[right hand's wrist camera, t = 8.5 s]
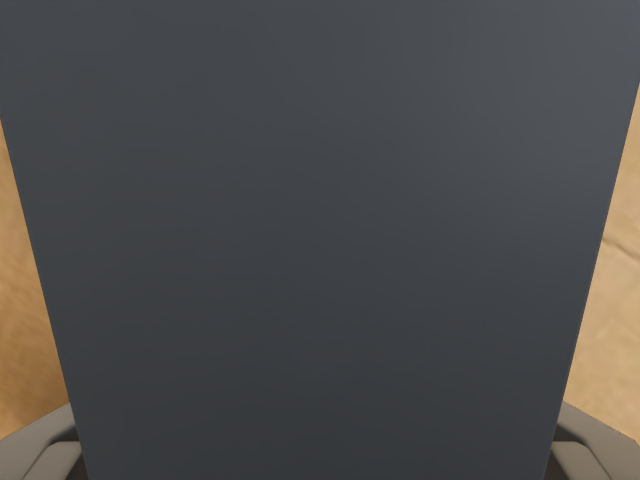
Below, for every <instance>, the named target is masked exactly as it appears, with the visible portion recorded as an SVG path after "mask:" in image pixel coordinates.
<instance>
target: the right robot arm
mask: <svg viewBox="0 0 640 480" xmlns="http://www.w3.org/2000/svg"><path fill="white" fill-rule="evenodd" d="M0 480H89V478H88V474H87V470H86V466H85V462H84V458H83V454H82V450H81V445H80V441H79V437H78V433H77V429H76V425H75V421H74V417H73V413H72V409H71V405H70V402H68V403H67V404H65V405H63V406H61V407H59V408H58V409H56V410H54V411H52V412H50V413H48V414H47V415H45V416H43V417H41V418H39V419H37V420H36V421H34V422H32V423H30V424H28V425H27V426H25V427H23V428H21V429H19V430H17V431H16V432H14V433H12V434H10V435H8V436H7V437H5V438H3V439H1V440H0ZM543 480H640V446H639V445H638V444H637V443H636V441H635V440H633V439H631V438H629V437H628V436H626V435H624V434H622V433H620V432H619V431H617V430H615V429H613V428H611V427H610V426H608V425H606V424H604V423H602V422H601V421H599V420H597V419H595V418H593V417H592V416H590V415H588V414H586V413H584V412H583V411H581V410H579V409H577V408H575V407H574V406H572V405H570V404H568V403H567V402H565V401H563V400H562V405H561V409H560V413H559V417H558V421H557V425H556V429H555V434H554V438H553V442H552V446H551V450H550V454H549V458H548V462H547V467H546V471H545V475H544V479H543Z"/></svg>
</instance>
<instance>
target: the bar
mask: <svg viewBox="0 0 640 480" xmlns="http://www.w3.org/2000/svg"><path fill="white" fill-rule="evenodd" d="M639 82H640V0H0V119H1V123H2V127H3V132H4V136H5V140H6V144H7V148H8V152H9V156H10V160H11V164H12V168H13V172H14V176H15V180H16V185H17V189H18V193H19V197H20V201H21V205H22V209H23V213H24V217H25V221H26V225H27V229H28V233H29V238H30V242H31V246H32V250H33V254H34V258H35V262H36V266H37V270H38V274H39V278H40V282H41V286H42V291H43V295H44V299H45V303H46V307H47V311H48V315H49V319H50V323H51V327H52V331H53V335H54V339H55V344H56V348H57V352H58V356H59V360H60V364H61V368H62V372H63V376H64V380H65V384H66V388H67V392H68V397H69V401H70V405H71V409H72V413H73V417H74V421H75V425H76V429H77V433H78V437H79V441H80V445H81V450H82V454H83V458H84V462H85V466H86V470H87V474H88V478H89V480H543V479H544V475H545V471H546V467H547V462H548V458H549V454H550V450H551V446H552V442H553V438H554V434H555V429H556V425H557V421H558V417H559V413H560V409H561V405H562V400H563V396H564V392H565V388H566V384H567V380H568V376H569V372H570V367H571V363H572V359H573V355H574V351H575V347H576V343H577V338H578V334H579V330H580V326H581V322H582V318H583V314H584V310H585V305H586V301H587V297H588V293H589V289H590V285H591V281H592V277H593V272H594V268H595V264H596V260H597V256H598V252H599V248H600V243H601V239H602V235H603V231H604V227H605V223H606V219H607V215H608V210H609V206H610V202H611V198H612V194H613V190H614V186H615V182H616V177H617V173H618V169H619V165H620V161H621V157H622V153H623V148H624V144H625V140H626V136H627V132H628V128H629V124H630V120H631V115H632V111H633V107H634V103H635V99H636V95H637V91H638V87H639Z"/></svg>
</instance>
